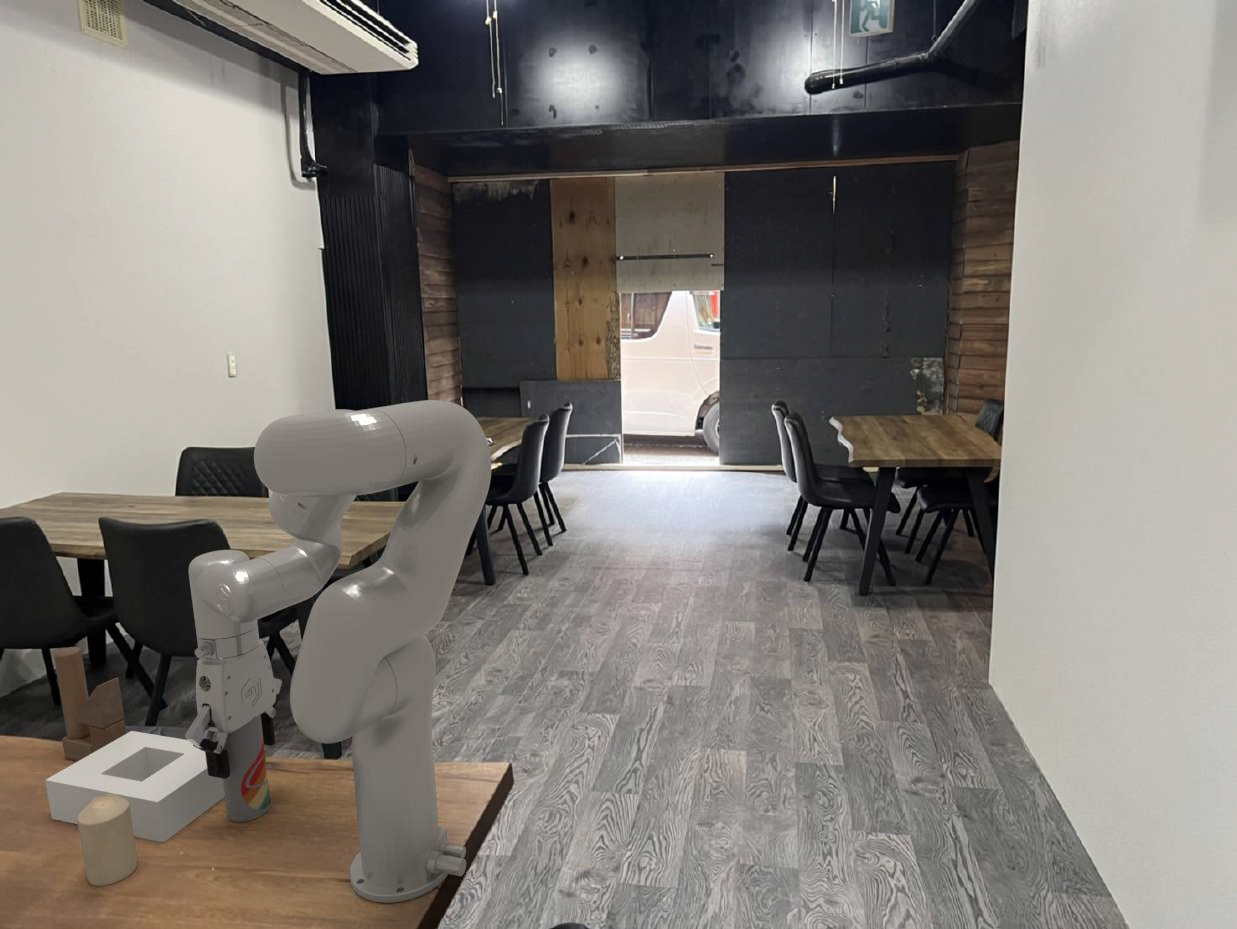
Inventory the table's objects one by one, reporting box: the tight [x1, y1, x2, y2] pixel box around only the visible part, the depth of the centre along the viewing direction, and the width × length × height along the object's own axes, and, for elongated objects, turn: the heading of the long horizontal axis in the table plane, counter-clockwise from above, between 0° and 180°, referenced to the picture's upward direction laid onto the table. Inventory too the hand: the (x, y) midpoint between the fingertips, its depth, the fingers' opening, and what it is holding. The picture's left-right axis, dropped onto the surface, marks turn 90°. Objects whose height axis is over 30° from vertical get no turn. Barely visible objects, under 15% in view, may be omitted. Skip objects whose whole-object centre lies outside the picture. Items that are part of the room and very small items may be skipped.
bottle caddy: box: [45, 730, 225, 844], centre depth 117 cm, size 20×14×6 cm
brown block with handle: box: [53, 646, 127, 762], centre depth 128 cm, size 4×11×18 cm, turn 67°
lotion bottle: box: [215, 715, 271, 823], centre depth 113 cm, size 6×6×20 cm
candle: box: [77, 794, 139, 887], centre depth 102 cm, size 6×6×10 cm
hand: (242, 759), depth 113 cm, fingers open, 8 cm apart
